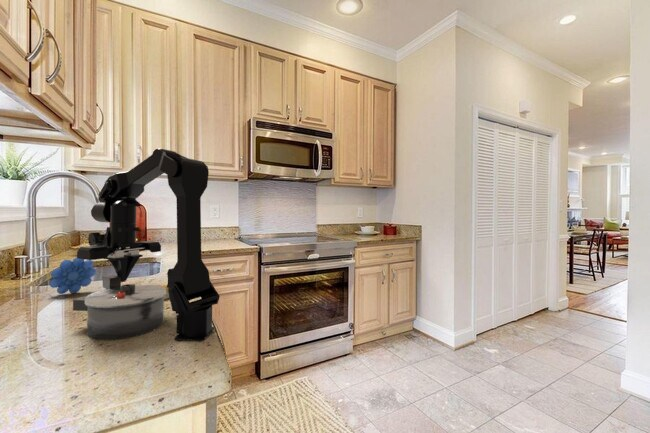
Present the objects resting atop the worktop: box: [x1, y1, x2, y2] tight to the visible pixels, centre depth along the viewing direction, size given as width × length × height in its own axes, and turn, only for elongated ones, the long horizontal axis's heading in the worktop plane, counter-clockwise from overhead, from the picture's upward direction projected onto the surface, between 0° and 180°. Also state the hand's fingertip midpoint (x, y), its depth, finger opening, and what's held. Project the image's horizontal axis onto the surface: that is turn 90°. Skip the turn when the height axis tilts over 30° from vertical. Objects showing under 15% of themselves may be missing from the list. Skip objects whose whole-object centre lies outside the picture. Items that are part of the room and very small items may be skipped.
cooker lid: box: [85, 274, 166, 308], centre depth 71 cm, size 21×16×4 cm
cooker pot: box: [72, 295, 165, 341], centre depth 70 cm, size 20×15×7 cm
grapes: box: [49, 256, 97, 295], centre depth 97 cm, size 12×7×12 cm, turn 129°
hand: (122, 281), depth 79 cm, fingers closed
